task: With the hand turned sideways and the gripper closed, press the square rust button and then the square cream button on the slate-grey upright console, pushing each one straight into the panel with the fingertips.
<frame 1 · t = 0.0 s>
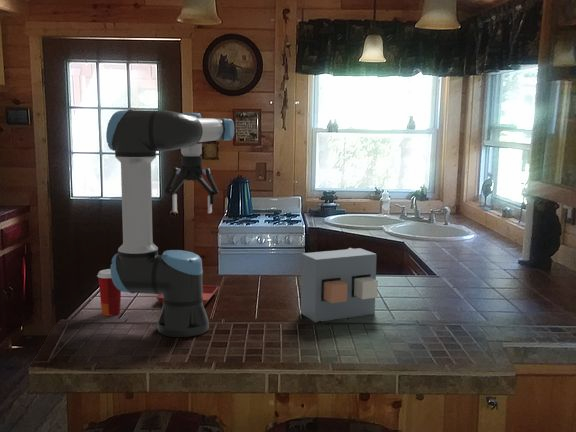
hand: (192, 212, 235), 28 cm above the counter, tool pointing down, fingers open, 13 cm apart
paper cup: (110, 314, 203), on the counter
console: (337, 313, 206), on the counter
rust button: (335, 291, 195), point 10 cm above the counter, slide at 0.0 cm
cream button: (365, 287, 199), point 10 cm above the counter, slide at 0.0 cm
canister: (349, 296, 227), on the counter
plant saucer: (188, 300, 220), on the counter
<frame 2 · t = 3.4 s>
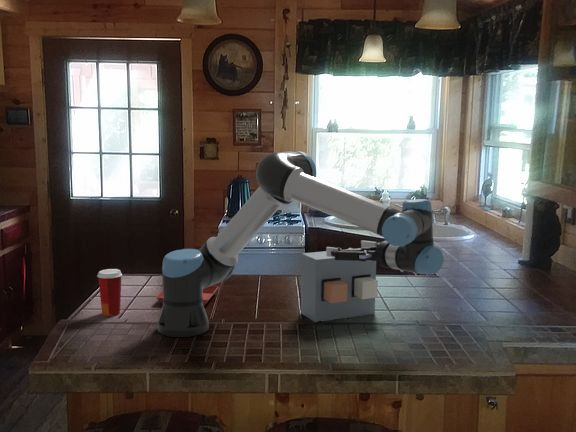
hand: (344, 248, 191), 24 cm above the counter, tool horizontal, fingers open, 13 cm apart
nothing on the counter moved.
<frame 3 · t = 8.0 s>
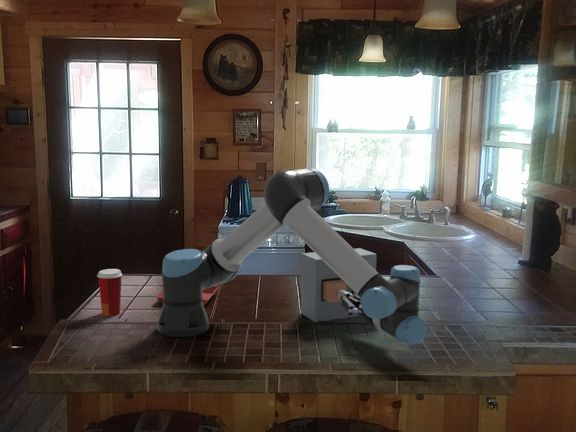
hand: (339, 293, 193), 10 cm above the counter, tool horizontal, fingers closed
rust button: (334, 291, 195), point 10 cm above the counter, slide at 0.6 cm, touching gripper
everything else where it was.
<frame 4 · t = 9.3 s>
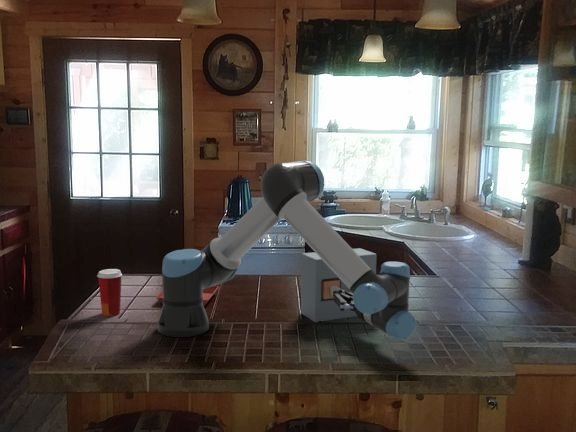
hand: (332, 290, 197), 10 cm above the counter, tool horizontal, fingers closed
rust button: (328, 287, 199), point 10 cm above the counter, slide at 4.7 cm, touching gripper
everything else where it was.
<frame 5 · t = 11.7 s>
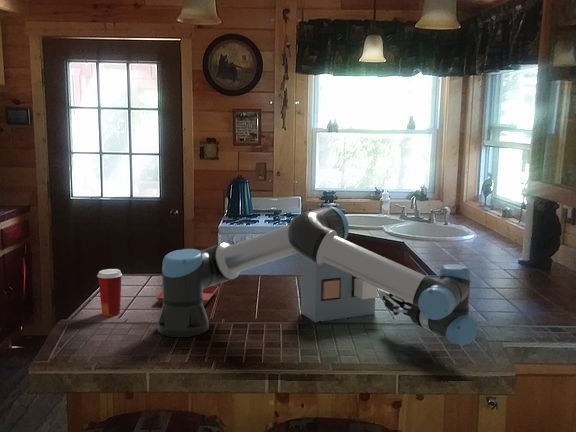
hand: (381, 293, 191), 11 cm above the counter, tool horizontal, fingers closed
rust button: (327, 287, 199), point 10 cm above the counter, slide at 4.8 cm
everything else where it was.
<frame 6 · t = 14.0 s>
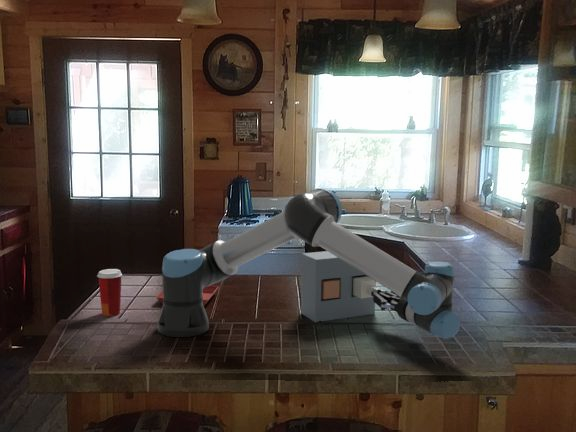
hand: (370, 289, 198), 10 cm above the counter, tool horizontal, fingers closed
cream button: (364, 287, 200), point 10 cm above the counter, slide at 0.9 cm, touching gripper
everything else where it was.
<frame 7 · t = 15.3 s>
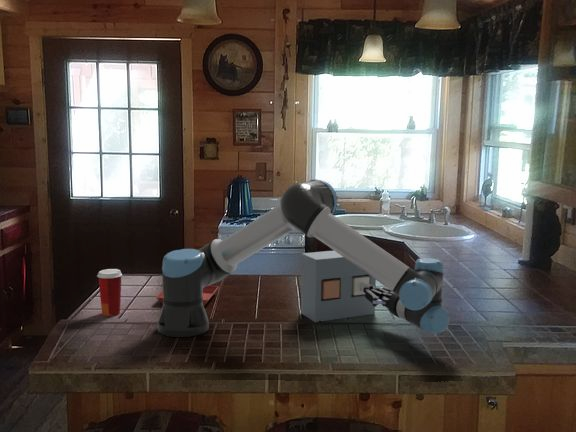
hand: (362, 286, 201), 10 cm above the counter, tool horizontal, fingers closed
cream button: (357, 284, 204), point 10 cm above the counter, slide at 4.8 cm, touching gripper
everything else where it was.
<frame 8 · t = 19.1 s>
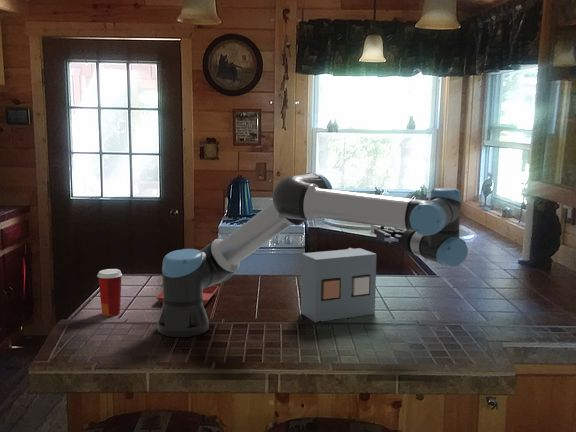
hand: (372, 228, 191), 30 cm above the counter, tool horizontal, fingers closed
cream button: (357, 284, 204), point 10 cm above the counter, slide at 4.8 cm
everything else where it was.
at the end: rust button slide at 4.8 cm; cream button slide at 4.8 cm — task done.
